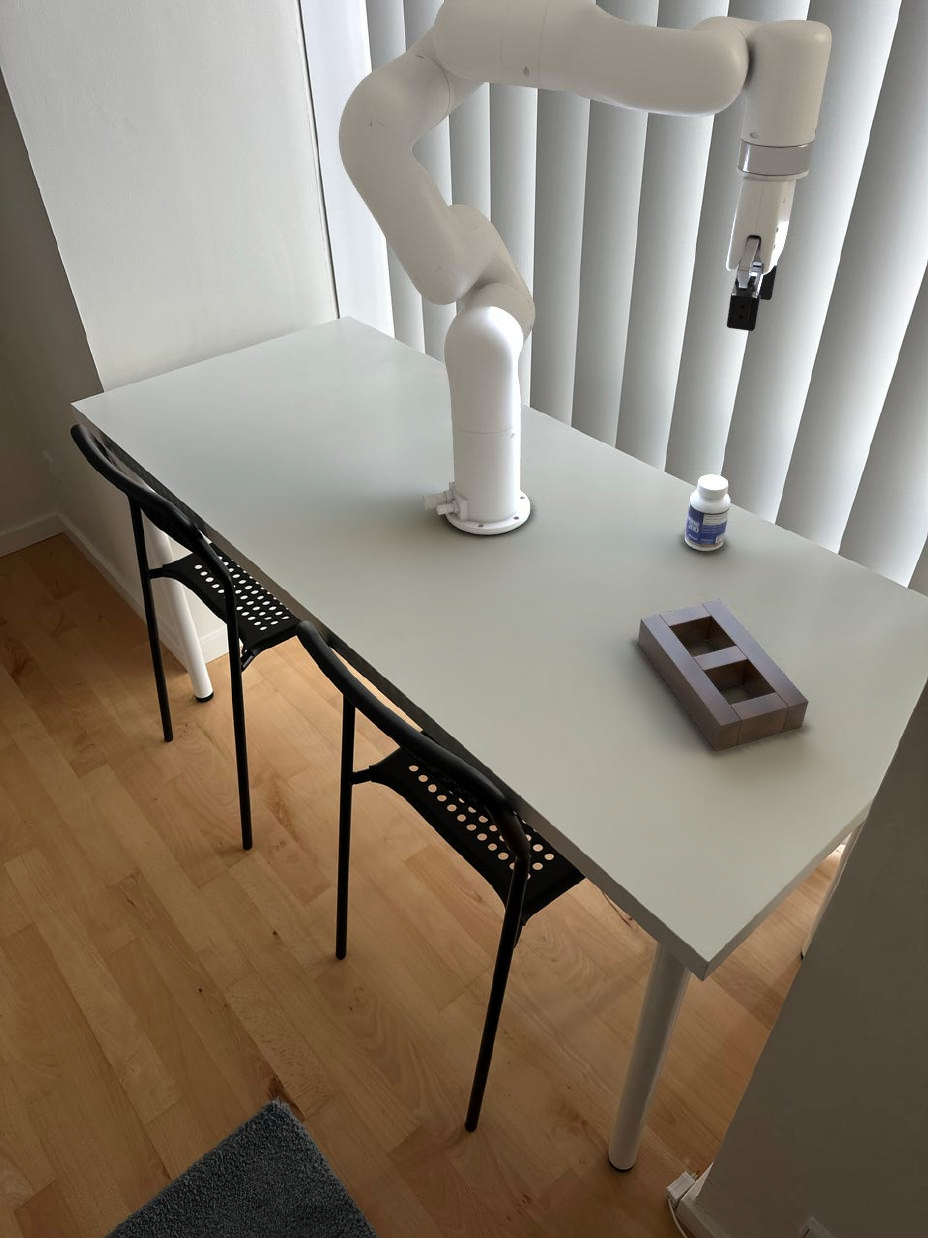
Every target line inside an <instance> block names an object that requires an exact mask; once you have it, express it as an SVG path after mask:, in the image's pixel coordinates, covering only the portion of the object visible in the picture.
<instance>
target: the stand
mask: <svg viewBox="0 0 928 1238" xmlns="http://www.w3.org/2000/svg"><path fill="white" fill-rule="evenodd" d="M639 620H640V622H639V629H638V636H637V637H638V639H637V644H638V646H639V648H641V650H642V652H643V653H644V654H645V656H646V657H647V658H648V659H649V661H650V662H651V664H652V665H653V667H654V668H655V669H656V670H657V672H658V673H659V675H660V676H661V678H662V679H663V680H664V681H665V683H666V684H667V686H668V687H669V689H670V690H671V691H672V693H673V694H674V695H675V697H676V698H677V699H678V701H679V702H680V704H681V705H682V707H683V708H684V709H685V711H686V712H687V713H688V714H689V716H690V717H691V719H692V720H693V721H694V723H695V724H696V726H697V727H698V728H699V730H700V732H701V733H702V734H703V736H704V737H705V738H706V739H707V741H708V742H709V744H710V745H711V746H712V748H713V749H714V750H715V752H717V751H722V750H725V749H728V748H733V747H735V746H739V745H742V744H746V743H748V742H752V741H756V740H760V739H764V738H767V737H771V736H774V735H778V734H781V733H785V732H789V731H791V730H796V729H798V728H799V729H800V728H802V727H803V723H804V720H805V716H806V713H807V709H808V706H809V700H808V699H807V698H806V697H805V696H804V694H803V693H802V692H801V691H800V690H799V689H798V688H797V686H796V685H795V684H794V682H793V681H791V680H790V678H789V677H788V676H787V675H786V673H784V672H783V670H782V669H781V667H779V666H778V665H777V663H776V662H775V661H774V660H773V659H772V658H771V657H770V655H769V654H768V653H767V652H766V651H765V649H764V648H763V647H762V646H761V645H760V644H759V643H758V642H757V641H756V640H755V638H754V637H753V636H752V634H750V632H749V631H748V630H747V629H746V628H745V627H744V626H743V624H741V622H740V621H739V620H738V619H737V617H736V616H734V614H733V613H732V612H731V610H730V609H729V608H727V606H726V605H725V604H724V603H723V602H722V601H721V600H720V599H715V600H711V601H706V602H703V603H699V604H696V605H691V606H688V607H682V608H679V609H675V610H671V611H667V612H663V613H659V614H654V615H651V616H646V617H643V618H642V617H641V618H640V619H639ZM705 641H707V642H708V643H709V644H710V646H711V647H712V648H713V649H714V651H711V652H707V653H702V654H699V655H696V656H692V655H691V654H690V652H689V651H688V650H687V648H686V646H691V645H695V644H698V643H701V642H705ZM739 685H743V687H745V688H746V690H747V691H748V692H749V694H750V695H752V697H753V698H751V699H747V700H743V701H740V702H736V703H732V704H730V703H729V702H728V701H727V699H726V698H725V697H724V696H723V695H722V693H721V692H720V691H721V690H725V689H729V688H732V687H735V686H739Z"/></svg>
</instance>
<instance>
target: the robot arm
mask: <svg viewBox="0 0 928 1238" xmlns="http://www.w3.org/2000/svg"><path fill="white" fill-rule="evenodd" d="M832 43H833V35H832V30H831V29H830V27H829V26H828V25H827V24H825V23H823V22H821V21H817V20H816V21H815V20H809V19H808V20H807V19H783V20H776V21H775V20H774V21H772V22H769V21H768V22H767V21H759V20H751V19H745V18H739V17H734V16H726V15H716V16H709V17H707V18H705V19H702V20H700V21H699V22H698V23H696V24H695V25H694V26H693V27H692V28H690V29H682V28H672V27H663V26H654V25H646V24H642V23H637V22H633V21H628V20H625V19H621V18H619V17H616V16H614V15H612V14H610V13H608V12H607V11H605V10H604V9H603V8H602V7H600V6H599V5H598V4H596V3H594V2H592V1H589V0H444V1H443V2H442V4H440V6H439V8H438V11H437V12H436V15H435V18H434V22H433V25H432V26H431V27H430V28H429V29H428V30H426V32H425V33H424V34H422V35H421V37H419V38H418V39H417V41H415V42H414V43H413V44H412V45H410V47H409V48H408V49H407V50H406V51H405V52H404V53H402V54H401V55H399V56H397V57H395V58H394V59H392V60H390V61H388V62H386V63H384V64H383V65H381V66H379V67H376V69H374V70H373V71H371V72H370V73H368V74H367V75H366V76H365V77H364V78H362V79H361V81H360V82H358V84H357V85H356V87H355V88H354V89H353V90H352V92H351V94H350V95H349V97H348V99H347V100H346V103H345V105H344V108H343V111H342V114H341V117H340V120H339V127H338V148H339V155H340V158H341V161H342V164H343V167H344V169H345V172H346V174H347V176H348V178H349V180H350V182H351V184H352V185H353V187H354V188H355V190H356V192H357V193H358V195H359V196H360V198H361V199H362V201H363V202H364V204H365V205H366V207H367V208H368V210H369V212H370V213H371V215H372V216H373V218H374V220H375V221H376V223H377V225H378V227H379V229H380V230H381V233H382V234H383V236H384V238H385V240H386V241H387V243H388V245H389V246H390V248H391V250H392V252H393V253H394V254H395V257H396V258H397V260H398V261H399V263H400V265H401V266H402V269H404V272H405V273H406V276H407V277H408V278H409V280H410V282H411V283H412V285H413V287H414V288H415V290H416V291H417V292H418V294H419V295H420V296H422V298H423V299H425V300H426V301H428V302H429V303H431V304H434V305H437V306H447V305H450V304H453V303H456V302H457V301H459V302H460V304H461V305H462V306H461V308H460V309H459V310H458V312H457V314H455V316H454V317H453V319H452V321H451V323H450V324H449V327H448V329H447V331H446V335H445V338H444V343H443V355H444V356H443V357H444V364H445V370H446V374H447V378H448V387H449V396H450V412H451V413H450V414H451V428H452V451H453V452H452V453H453V455H452V456H453V476H454V477H453V478H454V481H450V482H448V489H446V490H443V492H442V493H437V494H431V495H426V496H423V497H422V502H423V507H424V509H425V510H431V509H435V510H436V513H437V515H438V516H441V515H445V516H446V519H447V520H448V522H449V523H451V525H452V526H454V527H456V528H457V529H459V530H461V531H464V532H467V533H470V534H474V535H498V534H503V533H506V532H509V531H513V530H515V529H516V528H519V527H520V526H522V525H523V524H524V523H525V522H526V521H527V520H528V519H529V516H530V515H531V514H530V513H531V503H530V500H529V498H528V497H527V495H526V494H525V493H523V492H522V491H521V489H520V488H521V486H520V485H521V391H520V389H521V388H520V382H519V381H520V380H519V376H518V375H519V374H518V362H519V357H520V353H521V351H522V349H523V347H524V345H525V343H526V341H527V339H528V337H529V336H530V334H531V332H532V330H533V328H534V324H535V320H536V306H535V303H534V299H533V296H532V294H531V291H530V290H529V288H528V285H527V284H526V282H525V280H524V278H523V276H522V274H521V272H520V271H519V269H518V266H517V264H516V263H515V261H514V259H513V258H512V256H511V254H510V252H509V250H508V249H507V248H508V247H506V244H505V242H504V241H503V239H502V237H501V236H500V234H499V232H498V230H497V228H496V227H495V226H494V224H493V223H492V222H491V221H490V219H488V217H487V216H486V215H484V214H483V213H482V211H480V210H479V209H476V208H475V207H472V206H470V205H468V204H463V203H462V204H460V203H459V204H458V203H456V204H451V205H448V203H447V202H446V200H445V199H444V197H443V195H442V193H441V191H440V189H439V187H438V185H437V183H436V182H435V180H434V179H433V177H432V176H431V175H430V172H428V171H427V169H426V168H425V167H424V166H423V165H422V164H421V163H420V162H419V161H418V160H417V158H416V157H415V155H414V152H413V147H414V145H415V144H416V143H417V141H419V140H420V139H421V138H423V137H424V136H425V135H427V134H428V133H429V132H430V131H432V130H433V129H435V127H437V126H438V125H439V124H441V123H442V122H443V121H444V120H445V119H446V118H447V117H449V115H451V114H452V113H453V112H454V111H455V110H457V108H458V107H459V106H460V105H462V103H464V102H465V101H466V100H467V99H468V98H469V97H471V96H472V95H473V94H474V93H475V92H476V91H477V90H478V89H479V88H480V87H482V86H483V85H484V84H485V83H488V84H489V83H490V84H498V85H506V86H514V87H521V88H522V87H523V88H530V89H531V88H532V89H538V90H539V89H540V90H548V91H553V92H554V91H555V92H561V93H562V92H563V93H569V94H574V95H576V96H579V97H581V98H583V99H587V100H591V101H595V102H599V103H603V104H607V105H610V106H613V107H617V108H622V109H625V110H631V111H635V112H636V111H637V112H643V113H650V114H657V115H658V114H659V115H666V116H674V117H684V118H704V117H705V118H706V117H709V116H714V115H716V114H718V113H721V112H722V111H724V110H725V109H728V107H729V106H731V105H732V104H733V103H734V102H735V100H736V99H737V97H738V96H739V95H743V96H744V97H745V102H744V103H745V105H744V110H743V111H744V112H743V119H742V125H741V134H740V142H739V150H738V156H737V163H736V169H735V170H736V173H737V174H738V175H739V176H741V177H742V182H741V186H740V189H739V194H738V198H737V202H736V206H735V207H736V208H735V213H734V218H733V223H732V229H731V236H730V240H729V247H728V253H727V258H726V263H725V268H726V270H727V271H729V272H732V271H733V270H736V269H737V270H736V274H735V278H734V281H733V286H732V289H731V293H730V298H729V304H728V305H729V306H728V311H727V312H728V313H727V318H726V327H727V328H728V329H731V330H732V329H733V330H741V331H746V332H747V331H748V332H753V331H755V329H756V326H757V321H758V314H759V307H760V303H761V301H763V300H764V301H770V300H771V299H772V298H773V296H774V291H775V290H774V288H775V283H776V278H777V273H778V265H777V264H778V260H779V257H780V256H781V254H782V251H783V249H784V246H785V242H786V237H787V233H788V229H789V224H790V218H791V213H792V209H793V202H794V195H795V190H796V186H797V185H796V184H797V180H799V179H802V178H805V177H807V176H808V175H809V171H810V165H811V160H812V155H813V150H814V149H813V148H814V143H815V138H816V132H817V127H818V122H819V116H820V111H821V104H822V99H823V93H824V88H825V82H826V77H827V72H828V67H829V61H830V56H831V51H832V50H831V49H832Z"/></svg>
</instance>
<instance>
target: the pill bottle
mask: <svg viewBox="0 0 928 1238" xmlns="http://www.w3.org/2000/svg"><path fill="white" fill-rule="evenodd" d="M728 489H729V482H728V480H727V479H726V478H725V477H723V476H722V475H717V474H706V475H705V474H704V475H703V476H701V477H699V478H698V481H697V484H696V490H694V491H693V492H692V493H691V495H690V498H689V499H690V500H689V504H688V509H687V510H688V511H687V518H686V526H685V532H684V540H685V543H686V544H687V545H688V546H689V547H690V548H691V549H695V550H697V551H702V552H710V551H711V552H712V551H714V550H715V551H716V550H717V549H719V548H721V547H722V546H723V543H724V541H725V537H726V529H727V524H728V519H729V513H730V507H731V498H730V496H729V494H728Z"/></svg>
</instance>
